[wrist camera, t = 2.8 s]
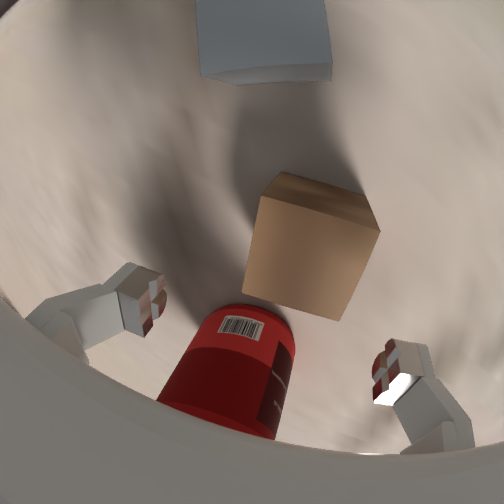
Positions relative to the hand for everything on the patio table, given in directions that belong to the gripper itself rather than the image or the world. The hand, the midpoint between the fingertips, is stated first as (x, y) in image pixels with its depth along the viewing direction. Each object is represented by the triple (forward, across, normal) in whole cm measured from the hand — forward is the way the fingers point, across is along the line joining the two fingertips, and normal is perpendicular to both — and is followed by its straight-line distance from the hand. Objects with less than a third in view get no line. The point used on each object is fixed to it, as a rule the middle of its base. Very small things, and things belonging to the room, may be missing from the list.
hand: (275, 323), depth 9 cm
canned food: (+9, +1, +11) cm, 14 cm away
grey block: (+8, +3, -10) cm, 14 cm away
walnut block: (+8, -1, 0) cm, 9 cm away
